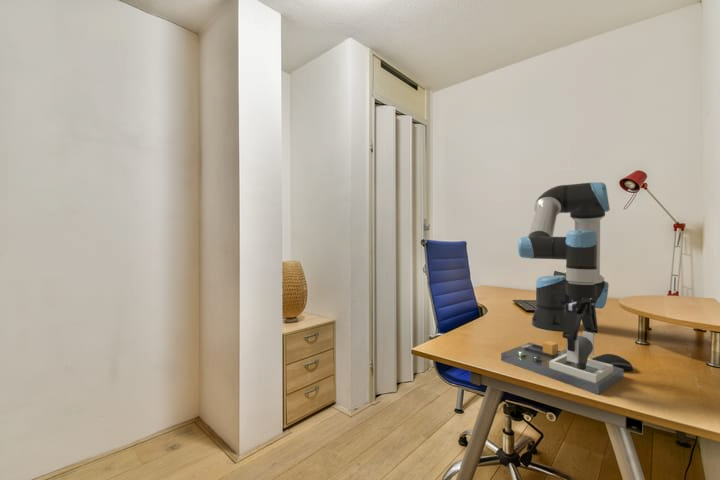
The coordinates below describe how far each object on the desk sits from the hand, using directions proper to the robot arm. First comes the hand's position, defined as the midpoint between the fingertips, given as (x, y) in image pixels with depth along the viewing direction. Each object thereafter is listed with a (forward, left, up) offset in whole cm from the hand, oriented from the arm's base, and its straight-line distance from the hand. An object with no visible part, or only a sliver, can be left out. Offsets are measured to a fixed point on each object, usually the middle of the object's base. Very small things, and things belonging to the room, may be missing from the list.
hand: (580, 357), depth 94 cm
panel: (-2, -7, -6) cm, 10 cm away
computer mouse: (-16, +2, -7) cm, 18 cm away
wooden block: (-6, -11, -4) cm, 13 cm away
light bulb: (0, 0, -4) cm, 4 cm away
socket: (0, 0, -4) cm, 4 cm away
